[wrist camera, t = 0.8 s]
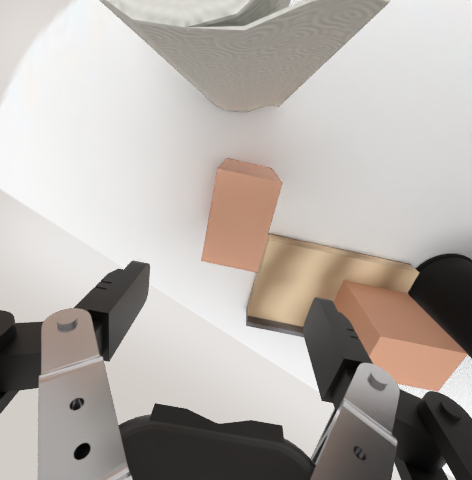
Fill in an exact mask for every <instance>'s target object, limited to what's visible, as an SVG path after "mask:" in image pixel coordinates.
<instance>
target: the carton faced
mask: <svg viewBox="0 0 472 480" xmlns="http://www.w3.org/2000/svg"><path fill="white" fill-rule="evenodd" d="M334 305H335V307H336V309H337V310H338V312H341V313H342V314H343V315H344V316H345V317H346V318H347V319H348V320H349V321H350V322H351V324H352V326H353V328H354V330H355V332H356V333H357V335H358V337H359V339H360V341H361V342H362V344H363V346H364V348H365V350H366V352H367V353H368V355H369V357H370V359H371V361H372V363H373V364H374V365H376V366H378V367H380V368H382V369H383V370H385V371H386V372H387V373H388V374H390V375H391V376H392V378H393V379H394V380H395V381H396V383H397V384H402V385H407V386H412V387H417V388H423V389H428V390H433V391H439V389H440V388H441V387H442V386H443V384H444V383H445V382H446V381H447V379H448V378H449V377H450V376H451V374H452V373H453V372H454V371H455V369H456V368H457V367H458V366H459V364H460V363H461V362H462V361H463V359H464V358H465V357H466V356H467V353H466V352H465V351H464V350H463V349H462V348H461V347H460V346H459V345H458V344H457V343H456V342H455V341H454V340H453V339H452V338H451V337H450V336H449V335H448V334H447V333H446V332H445V331H444V330H443V329H442V328H441V327H440V326H439V325H438V324H437V323H436V322H435V321H434V320H433V319H432V318H431V317H430V316H429V315H428V314H427V313H426V312H425V311H424V310H423V309H422V308H421V307H420V306H419V305H418V304H417V303H416V302H415V301H414V300H413V299H412V298H411V297H410V296H409V295H408V294H407V293H403V292H398V291H393V290H388V289H384V288H379V287H374V286H369V285H365V284H360V283H355V282H350V281H346V280H344V281H343V283H342V285H341V287H340V290H339V292H338V294H337V296H336V298H335V301H334Z"/></svg>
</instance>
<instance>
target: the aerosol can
mask: <svg viewBox="0 0 472 480" xmlns="http://www.w3.org/2000/svg"><path fill="white" fill-rule="evenodd" d="M416 270H417V271H418V272H420V273H419V274H418V276H417V278H416V279H415V281H414V283H413V285H412V286H411V288H410V290H409V291H408V295H409V296H410V297H411V298H412V299H413V300H414V301H415V302H416V303H417V304H418V305H419V306H420V307H421V308H422V309H423V310H424V311H425V312H426V313H427V314H428V315H429V316H430V317H431V318H432V319H433V320H434V321H435V322H436V323H437V324H438V325H439V326H440V327H441V328H442V329H443V330H444V331H445V332H446V333H447V334H448V335H449V336H450V337H451V338H452V339H453V340H454V341H455V342H456V343H457V344H458V345H459V346H460V347H461V348H462V349H463V350H464V351H465V352H466V353H467V354H468V355H469V356H470V357H471V358H472V260H471V259H470V258H468V257H465V256H463V255H458V254H446V255H441V256H437V257H434V258H432V259H430V260H428V261H426V262H425V263H423V264H422V265H421V266H420V267H418V268H417V269H416Z"/></svg>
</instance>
